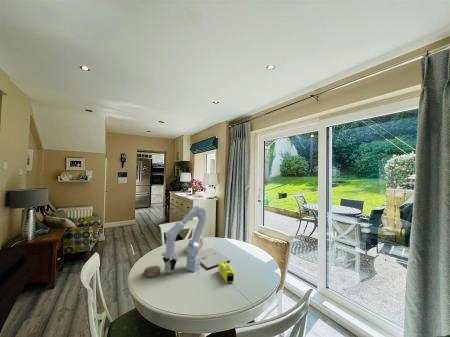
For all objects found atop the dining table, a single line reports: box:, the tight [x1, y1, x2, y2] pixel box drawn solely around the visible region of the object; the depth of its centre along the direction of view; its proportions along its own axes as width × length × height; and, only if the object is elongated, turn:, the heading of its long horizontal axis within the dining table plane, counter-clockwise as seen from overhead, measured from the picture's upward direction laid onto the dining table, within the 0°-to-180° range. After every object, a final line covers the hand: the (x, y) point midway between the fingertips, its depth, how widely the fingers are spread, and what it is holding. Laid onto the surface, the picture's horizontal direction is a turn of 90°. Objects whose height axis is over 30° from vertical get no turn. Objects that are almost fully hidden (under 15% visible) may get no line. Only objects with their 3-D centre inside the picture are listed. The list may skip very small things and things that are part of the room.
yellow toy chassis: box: [217, 260, 235, 284], centre depth 133 cm, size 16×6×8 cm, turn 21°
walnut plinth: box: [143, 265, 161, 279], centre depth 134 cm, size 10×10×3 cm
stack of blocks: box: [188, 235, 204, 252], centre depth 176 cm, size 21×6×12 cm, turn 172°
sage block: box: [164, 259, 176, 274], centre depth 136 cm, size 4×4×6 cm
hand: (169, 268), depth 136 cm, fingers closed on sage block, 4 cm apart
